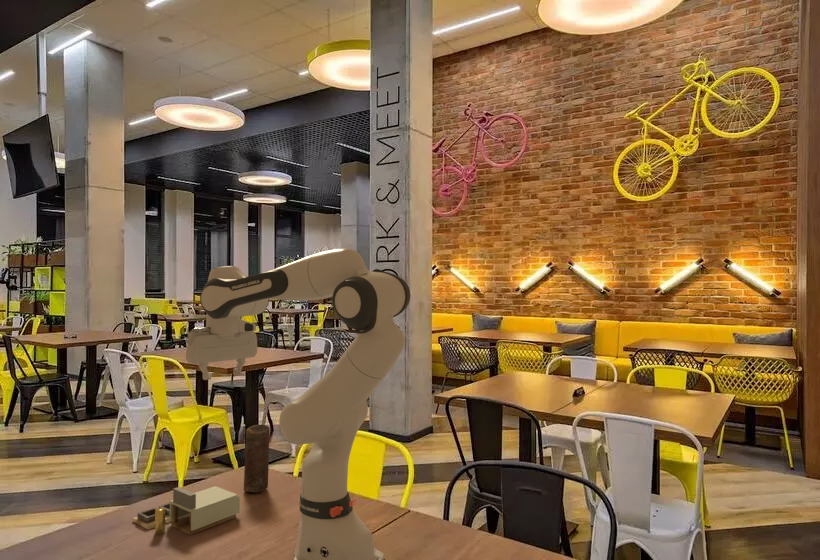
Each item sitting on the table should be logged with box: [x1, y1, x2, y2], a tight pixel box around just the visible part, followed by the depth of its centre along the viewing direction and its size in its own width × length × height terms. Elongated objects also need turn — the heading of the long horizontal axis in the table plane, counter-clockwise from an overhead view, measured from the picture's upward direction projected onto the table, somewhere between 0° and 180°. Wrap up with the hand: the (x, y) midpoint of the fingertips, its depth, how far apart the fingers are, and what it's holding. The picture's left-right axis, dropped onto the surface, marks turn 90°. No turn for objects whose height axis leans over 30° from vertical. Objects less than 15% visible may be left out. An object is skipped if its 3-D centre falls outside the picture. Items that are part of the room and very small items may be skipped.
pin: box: [154, 507, 166, 535], centre depth 149 cm, size 2×2×6 cm
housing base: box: [170, 505, 237, 536], centre depth 156 cm, size 9×14×6 cm, turn 143°
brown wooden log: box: [243, 424, 270, 494], centre depth 178 cm, size 8×7×20 cm
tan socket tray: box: [132, 502, 190, 530], centre depth 157 cm, size 8×12×2 cm, turn 143°
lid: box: [169, 486, 241, 531], centre depth 156 cm, size 11×15×9 cm
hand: (222, 377), depth 154 cm, fingers open, 8 cm apart
